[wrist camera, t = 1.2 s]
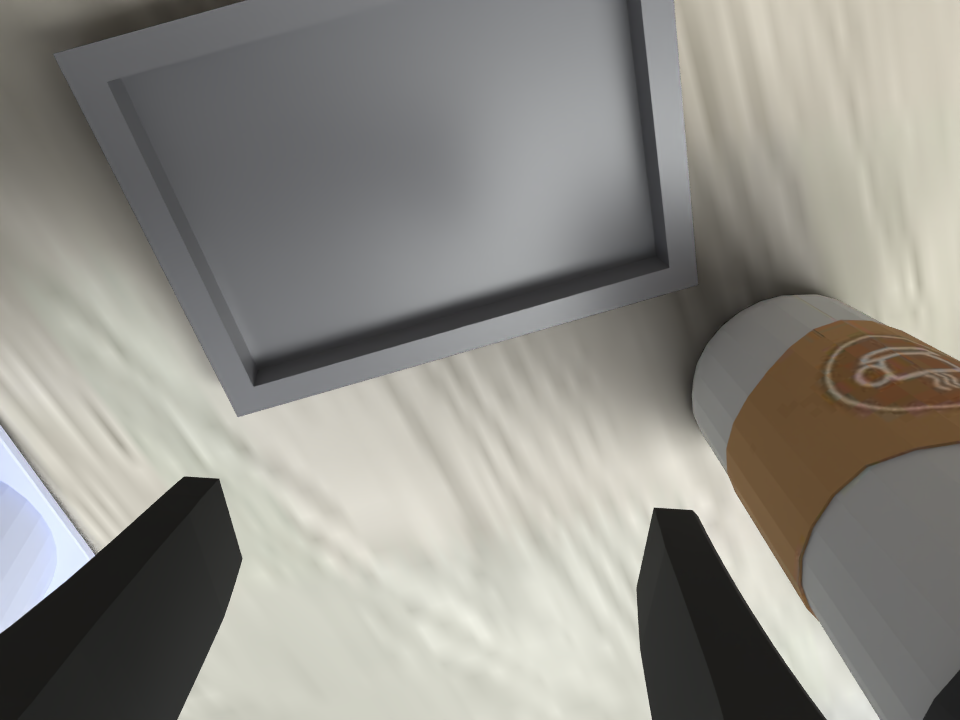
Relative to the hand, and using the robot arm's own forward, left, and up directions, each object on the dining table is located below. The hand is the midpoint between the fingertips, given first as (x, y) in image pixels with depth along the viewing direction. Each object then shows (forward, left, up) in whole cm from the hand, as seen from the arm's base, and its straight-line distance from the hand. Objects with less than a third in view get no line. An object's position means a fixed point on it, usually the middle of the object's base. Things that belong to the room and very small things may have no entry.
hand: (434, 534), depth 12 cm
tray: (+1, +3, -11) cm, 11 cm away
